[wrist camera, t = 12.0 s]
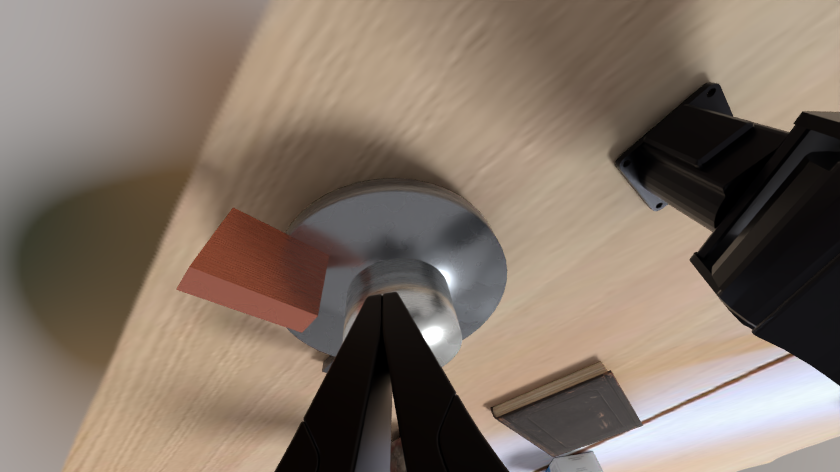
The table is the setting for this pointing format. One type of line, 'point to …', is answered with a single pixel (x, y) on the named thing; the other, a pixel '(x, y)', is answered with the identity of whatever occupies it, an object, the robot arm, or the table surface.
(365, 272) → the cover
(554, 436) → the hardcover book
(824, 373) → the robot arm
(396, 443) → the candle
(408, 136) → the table surface
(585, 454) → the ink box
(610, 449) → the table surface
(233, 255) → the turntable
